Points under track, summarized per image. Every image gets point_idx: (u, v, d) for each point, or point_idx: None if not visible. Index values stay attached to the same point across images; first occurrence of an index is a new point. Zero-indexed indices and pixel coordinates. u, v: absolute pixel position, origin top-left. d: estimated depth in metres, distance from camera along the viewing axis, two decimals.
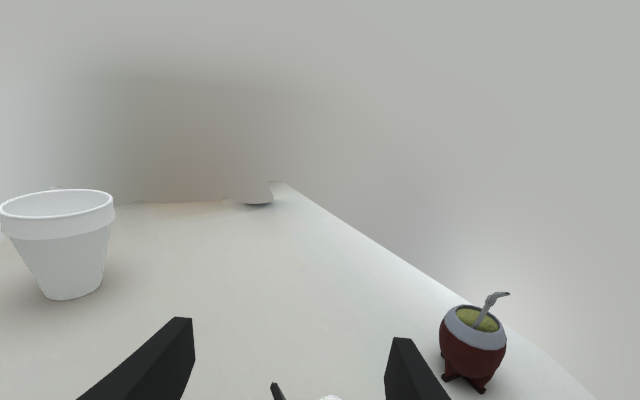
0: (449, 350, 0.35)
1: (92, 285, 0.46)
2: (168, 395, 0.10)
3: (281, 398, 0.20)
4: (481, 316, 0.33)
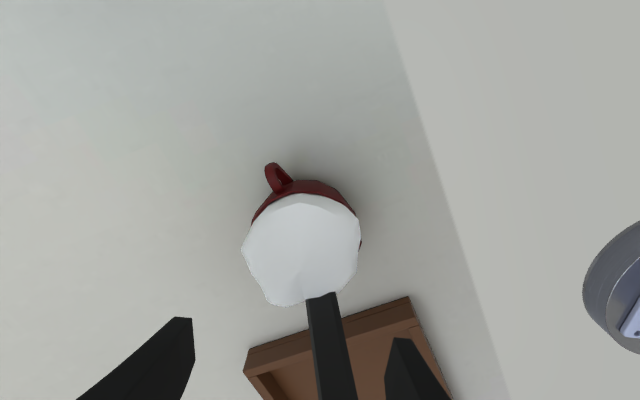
0: None
1: None
2: (168, 395, 0.10)
3: None
4: None
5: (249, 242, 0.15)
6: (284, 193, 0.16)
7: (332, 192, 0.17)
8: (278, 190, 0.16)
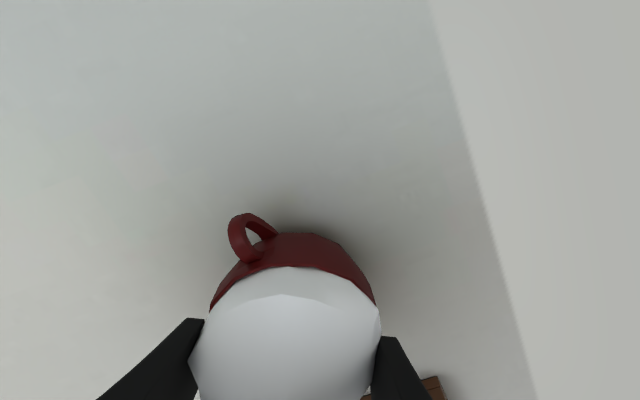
0: None
1: None
2: (182, 396, 0.10)
3: None
4: None
5: (200, 353, 0.09)
6: (259, 266, 0.10)
7: (336, 259, 0.11)
8: (250, 259, 0.10)
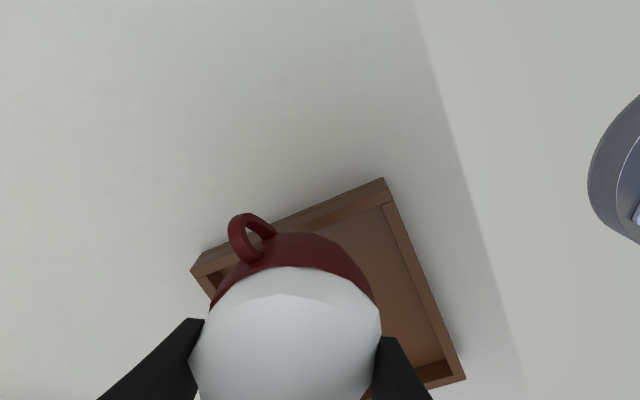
0: None
1: None
2: (182, 396, 0.10)
3: None
4: None
5: (200, 353, 0.09)
6: (259, 266, 0.10)
7: (336, 259, 0.11)
8: (250, 259, 0.10)
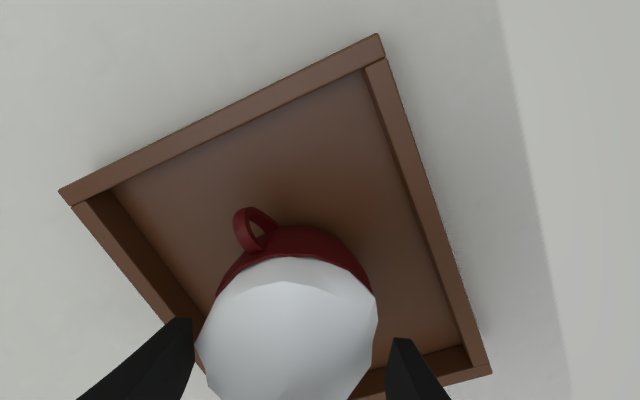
0: None
1: None
2: (168, 395, 0.10)
3: None
4: None
5: (206, 337, 0.10)
6: (262, 256, 0.11)
7: (335, 250, 0.11)
8: (254, 250, 0.11)
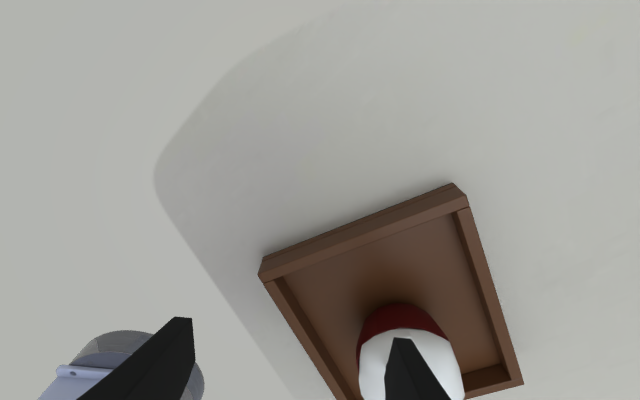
0: None
1: None
2: (168, 395, 0.10)
3: None
4: None
5: None
6: None
7: None
8: None
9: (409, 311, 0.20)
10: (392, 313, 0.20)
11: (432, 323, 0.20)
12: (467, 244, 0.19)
